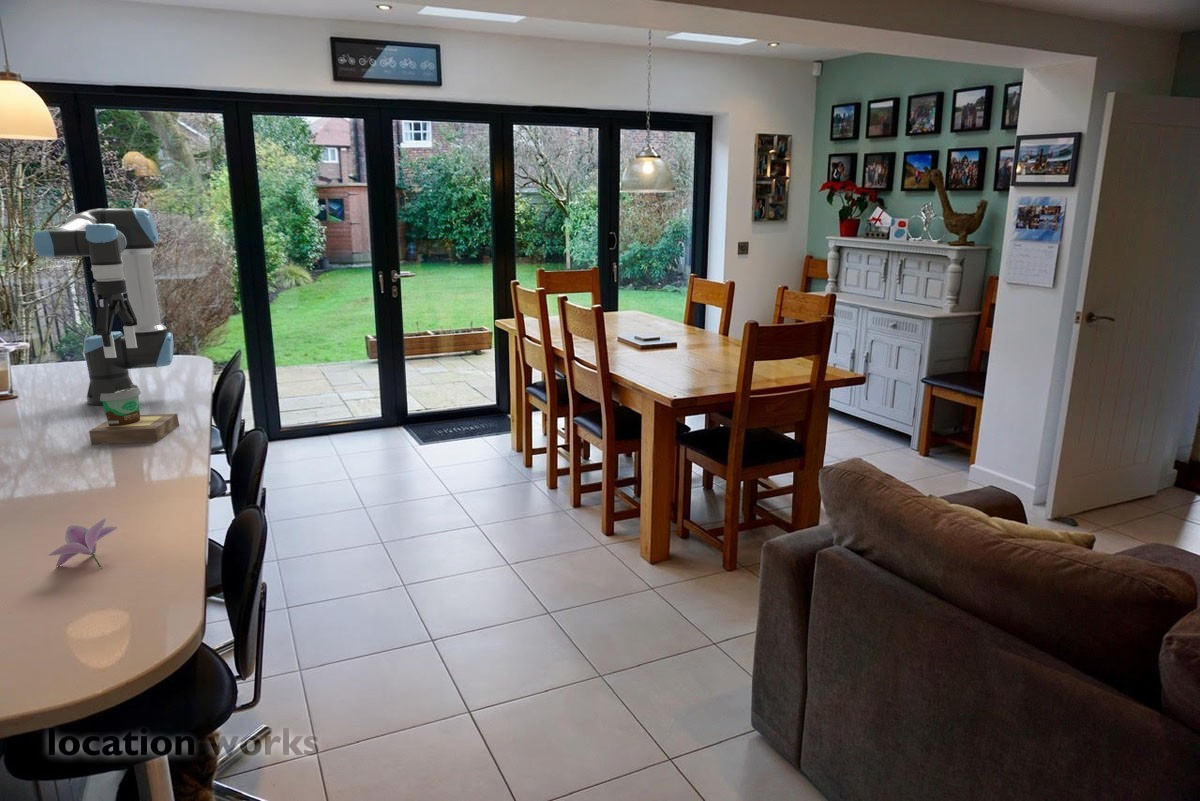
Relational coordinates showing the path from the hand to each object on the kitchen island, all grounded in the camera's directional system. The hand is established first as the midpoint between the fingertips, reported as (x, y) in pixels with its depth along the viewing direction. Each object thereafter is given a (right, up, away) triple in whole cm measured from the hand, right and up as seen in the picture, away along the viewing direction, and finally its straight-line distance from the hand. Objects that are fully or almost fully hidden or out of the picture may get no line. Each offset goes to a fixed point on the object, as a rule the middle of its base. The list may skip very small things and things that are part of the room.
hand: (121, 352), depth 229 cm
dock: (+1, -24, +6) cm, 25 cm away
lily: (+40, -46, -75) cm, 97 cm away
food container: (0, -21, +4) cm, 21 cm away
